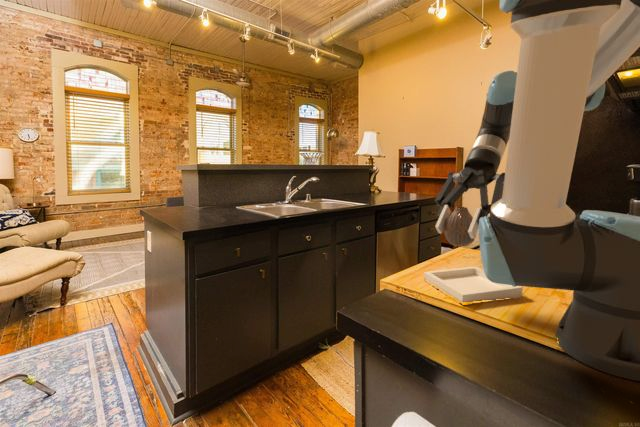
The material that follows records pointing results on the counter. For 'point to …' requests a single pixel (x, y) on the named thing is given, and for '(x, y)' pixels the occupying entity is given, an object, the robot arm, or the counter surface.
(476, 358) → the counter surface
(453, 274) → the tray
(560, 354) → the counter surface
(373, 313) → the counter surface
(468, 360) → the counter surface
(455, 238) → the vase
